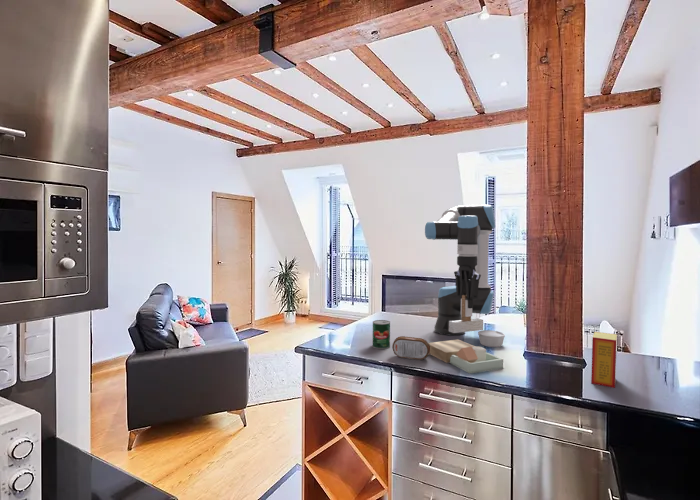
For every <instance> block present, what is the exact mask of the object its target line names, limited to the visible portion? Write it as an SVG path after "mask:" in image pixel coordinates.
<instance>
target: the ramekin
mask: <svg viewBox="0 0 700 500" xmlns="http://www.w3.org/2000/svg"><path fill="white" fill-rule="evenodd" d="M477 332H478V333H477V334H478V339H479V343H480V344H481V345H482V346H484V347H488V348H500V347H503V344H504V340H505V337H506V334H505V333H503V332H501V331H497V330H489V329H483V330H478V331H477Z"/></svg>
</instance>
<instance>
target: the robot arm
mask: <svg viewBox="0 0 700 500" xmlns="http://www.w3.org/2000/svg"><path fill="white" fill-rule="evenodd" d="M495 228H496V219H495V211H494V208H493V206H492V205H491V204H471V205H470V204H469V205H468V204H465V205H464V204H463V205H462V204H461V205H458V206H457V205H456V206H454V207H451V208H449V209H447V210H445V211H444V212H443V213H442V214H441V217H440V218H439V219H438V220H437V221H427V222H426V224H425V227H424V235H425V238H426V239H427V240H433V241H434V240H453V241H454V240H455V241H457V242H456V244H457V253H456V254H457V255H458V256H457V257H456V264H457V265H456V266H458V270H454V271H453V274H454V279H455V285H449V286H443V287H440V288H439V289H438V293H437V294H438V296H437V318H436V321H435V324H434V329H433V330H434V332H435V333H437V334H441V335H447V336H460V335H464V334H465V333H466V332H459V333H452V332H449V321H455V320H461V317H462V295H467V298H466V300H465V316H466V317H469V316H471V317H473V314H478V315H488V314H490V313H491V312H492V307H493V302H494V295H495V291H494V290H492V287H491V286H490V284H489V281H488V280H489V245H490V243H489V237H490V234H492V232H493V229H495Z"/></svg>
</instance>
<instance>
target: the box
mask: <svg viewBox="0 0 700 500" xmlns="http://www.w3.org/2000/svg"><path fill="white" fill-rule="evenodd" d="M449 364H451V365H453V366H455V367H456V368H458V369H460V370H462V371H464V372H466V373H468V374H469V375H470V374H472V375H473V374H479V373H483V372H484V373H485V372H489V371H490V372H491V371H496V370H501V369H502V370H504V358H502V357H499V356H497V355H495V354H492V353H489V352H487V351H486V361H480V362H474V363H470V362H468V361H466V360H464V359H462V358H459V357H458V356H455V355H452V357H450V362H449Z"/></svg>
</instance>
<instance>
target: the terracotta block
mask: <svg viewBox="0 0 700 500" xmlns="http://www.w3.org/2000/svg"><path fill="white" fill-rule="evenodd" d="M456 354H457V356H458V357H459V358H462V359H464V360H466V361H468V362H470V363H474V362H475V361H476V360H477V359H478V357H477V355H476V354H475V352H474V350H473V348H472V347H466V348H461V349H460V350H459V351H458V352H457V353H456Z"/></svg>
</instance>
